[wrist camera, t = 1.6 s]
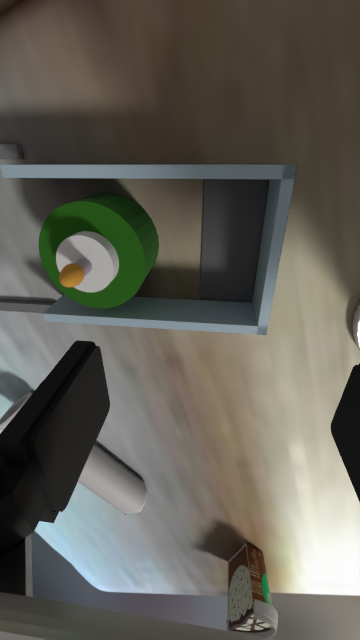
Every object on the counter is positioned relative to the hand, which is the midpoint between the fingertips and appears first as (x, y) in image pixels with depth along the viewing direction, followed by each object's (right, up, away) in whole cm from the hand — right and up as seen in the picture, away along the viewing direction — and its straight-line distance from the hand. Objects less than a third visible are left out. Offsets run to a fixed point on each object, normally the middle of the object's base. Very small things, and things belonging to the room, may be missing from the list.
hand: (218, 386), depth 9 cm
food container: (+13, -43, +44) cm, 63 cm away
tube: (-15, -17, +33) cm, 40 cm away
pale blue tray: (-3, +9, +16) cm, 19 cm away
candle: (-7, +10, +17) cm, 20 cm away
